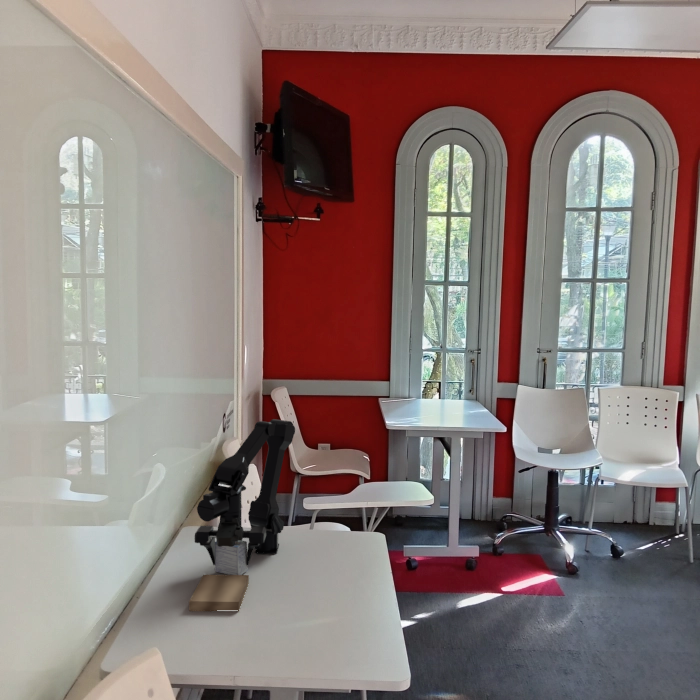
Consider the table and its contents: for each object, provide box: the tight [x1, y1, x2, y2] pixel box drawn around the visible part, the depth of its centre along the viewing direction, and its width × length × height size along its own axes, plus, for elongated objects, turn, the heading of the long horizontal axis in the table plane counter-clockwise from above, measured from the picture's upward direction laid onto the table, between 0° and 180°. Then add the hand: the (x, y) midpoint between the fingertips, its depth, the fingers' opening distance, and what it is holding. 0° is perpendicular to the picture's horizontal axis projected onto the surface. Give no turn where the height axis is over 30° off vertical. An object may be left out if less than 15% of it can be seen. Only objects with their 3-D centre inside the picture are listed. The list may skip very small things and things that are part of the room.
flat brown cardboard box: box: [188, 574, 250, 612], centre depth 152 cm, size 12×14×3 cm
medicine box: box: [214, 539, 248, 575], centre depth 166 cm, size 8×4×9 cm, turn 65°
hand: (231, 564), depth 166 cm, fingers closed on medicine box, 9 cm apart
